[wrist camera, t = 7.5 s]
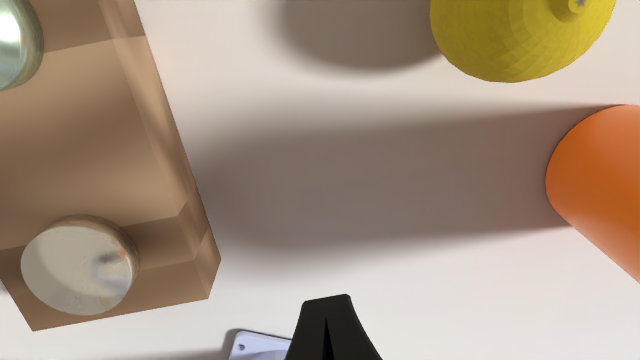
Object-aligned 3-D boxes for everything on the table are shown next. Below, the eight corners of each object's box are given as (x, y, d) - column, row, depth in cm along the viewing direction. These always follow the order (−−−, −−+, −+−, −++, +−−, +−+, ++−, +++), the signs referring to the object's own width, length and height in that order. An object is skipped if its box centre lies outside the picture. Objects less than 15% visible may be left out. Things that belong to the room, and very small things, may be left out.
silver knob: (172, 251, 22) (143, 305, 18) (96, 265, 22) (49, 323, 18) (144, 179, 20) (104, 220, 16) (62, 195, 20) (0, 240, 16)
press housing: (221, 258, 23) (208, 298, 19) (70, 287, 23) (32, 331, 20) (105, -84, 16) (56, -110, 13) (-103, -39, 16) (-202, -54, 13)
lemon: (383, 11, 18) (442, 5, 11) (477, -92, 17) (618, -181, 9) (459, 93, 20) (555, 137, 12) (550, 5, 18) (719, -5, 11)
